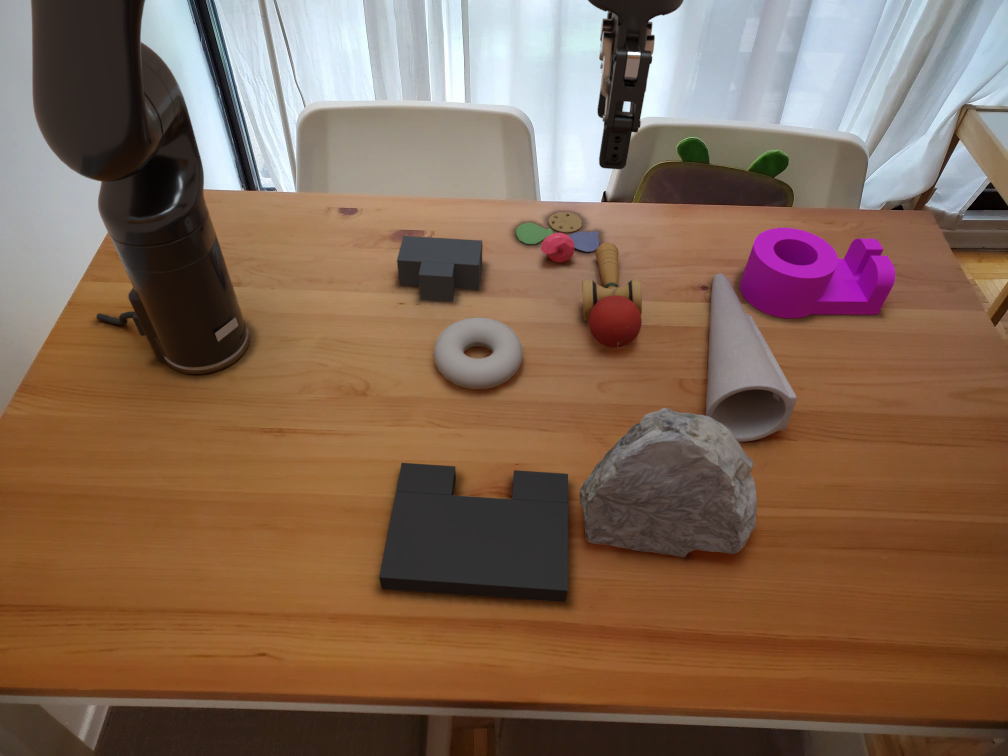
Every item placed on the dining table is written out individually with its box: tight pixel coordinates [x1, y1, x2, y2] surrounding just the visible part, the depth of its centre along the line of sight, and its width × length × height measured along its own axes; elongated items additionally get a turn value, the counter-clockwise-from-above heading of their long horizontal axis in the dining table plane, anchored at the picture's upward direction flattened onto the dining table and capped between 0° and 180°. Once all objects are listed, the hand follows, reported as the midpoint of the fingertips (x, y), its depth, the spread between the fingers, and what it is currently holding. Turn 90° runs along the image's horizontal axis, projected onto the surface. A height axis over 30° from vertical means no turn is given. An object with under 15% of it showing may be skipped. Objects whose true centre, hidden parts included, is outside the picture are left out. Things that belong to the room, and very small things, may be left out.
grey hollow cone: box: [705, 272, 798, 443], centre depth 82 cm, size 8×9×26 cm
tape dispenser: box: [739, 227, 896, 319], centre depth 89 cm, size 16×10×6 cm, turn 91°
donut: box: [432, 316, 524, 390], centre depth 80 cm, size 10×4×10 cm
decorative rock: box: [578, 407, 758, 558], centre depth 62 cm, size 16×7×15 cm, turn 82°
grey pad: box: [396, 235, 483, 303], centre depth 89 cm, size 10×8×4 cm
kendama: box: [581, 242, 643, 350], centre depth 87 cm, size 8×6×18 cm
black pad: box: [378, 462, 569, 603], centre depth 66 cm, size 16×12×2 cm
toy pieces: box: [515, 211, 600, 264], centre depth 96 cm, size 12×11×4 cm
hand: (610, 140), depth 63 cm, fingers open, 8 cm apart
